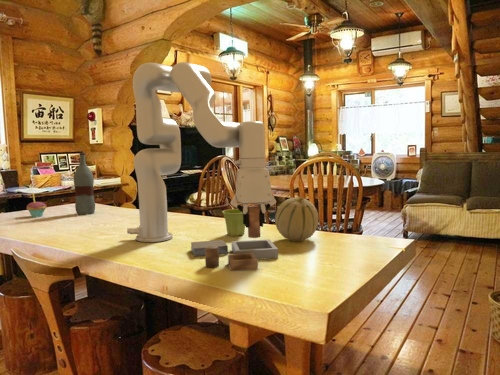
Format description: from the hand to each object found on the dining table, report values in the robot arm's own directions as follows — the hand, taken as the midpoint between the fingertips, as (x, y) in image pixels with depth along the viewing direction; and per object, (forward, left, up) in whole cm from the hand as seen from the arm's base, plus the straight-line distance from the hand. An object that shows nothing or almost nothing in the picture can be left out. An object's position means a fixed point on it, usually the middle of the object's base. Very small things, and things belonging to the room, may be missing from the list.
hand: (254, 225), depth 121 cm
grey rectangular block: (-13, +5, -9) cm, 17 cm away
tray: (0, 0, -9) cm, 9 cm away
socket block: (-5, -11, -9) cm, 15 cm away
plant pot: (-2, +28, -9) cm, 30 cm away
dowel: (0, 0, -3) cm, 3 cm away
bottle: (-69, +93, -9) cm, 116 cm away
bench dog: (-13, -9, -9) cm, 18 cm away
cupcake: (-91, +91, -9) cm, 129 cm away
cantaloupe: (+17, +14, -9) cm, 24 cm away
